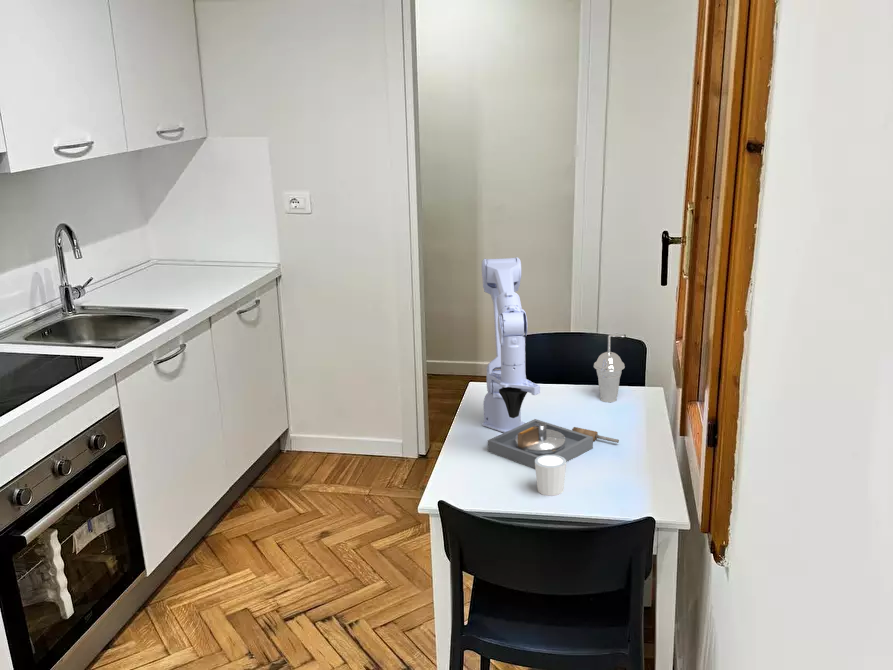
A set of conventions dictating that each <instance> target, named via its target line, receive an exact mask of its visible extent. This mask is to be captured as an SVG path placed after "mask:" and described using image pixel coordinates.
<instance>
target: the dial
mask: <svg viewBox="0 0 893 670" xmlns="http://www.w3.org/2000/svg"><path fill="white" fill-rule="evenodd" d="M515 442H516V447H517V448H518V449H520V450H523V451H526V452H529V453H532V454H537V455H545V454H552V453H556V452H559V451H561V450H562V449H564V447H565V436H564V435H563V434H562V433H560V432H557V431H554V430H550V429H546V424H545V423H542V422H538V423H535V424H534V426H533V427H530V428H528V429H526V430H524V431H522V432H519V433H518V434H517V435H516V438H515Z"/></svg>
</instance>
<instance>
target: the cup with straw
mask: <svg viewBox="0 0 893 670" xmlns="http://www.w3.org/2000/svg"><path fill="white" fill-rule="evenodd" d="M611 337H612V338H626V334H624V333H623V334H619V333H610V334H609V335H607V351H605V352H602V353H601V354H600V355H598V358H597V360H596V361H595V362H594V363H593V368H594V370H596V376H597V378H598V379H597V380H598V391H599V396H600V399H599V400H600V401H602V402H603V403H614V402H617V400H618V395H619V386H620V379H621V376H622V370H624V369H625V367H626V366H625V363H624V362H623V361H622V359H621V356H619V355H618V354H617V353H616V352H614V351H613V352H612V351H611Z"/></svg>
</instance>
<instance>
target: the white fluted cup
mask: <svg viewBox="0 0 893 670" xmlns="http://www.w3.org/2000/svg"><path fill="white" fill-rule="evenodd" d="M566 468H567V462H566V459H565V458H564V457H561V456H558V455H542V456H539V457H537V458H536V459H535V477H536V489H537V492H538V493H539V494H541V495H543V496H547V497H555V496H559V495H561V494H562V493H563V492H564V490H565V481H566V470H567V469H566Z"/></svg>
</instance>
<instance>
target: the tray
mask: <svg viewBox="0 0 893 670" xmlns="http://www.w3.org/2000/svg"><path fill="white" fill-rule="evenodd" d="M538 422H542V423H545V424H546V429H550V430H554V431H557V432H560V433H562V434H563V435H564V436H565V447H564V449H562V450H561V451H559V452H556V453H552V454H545V455H558V456H561V457H564V458H565V459H566V463H567V461H568V462H569V460H570V461H571V459H572V460H573V458H574V459H575V458H578V457H579V456H581V455H583V454H585V453H587V452H589V451H590V450H592V449H594V441H593V437H592V436H589V435H585V434H582V433H579V432H576V431H572V429H569V428H566V427H562V426H559V425H555V424H553V423H550V422H546V421H543V420H539V419H537V418H534V419H531V420H529V421H528V422H525V424H523V425H521V426H518V427H516V428H514V429H512V430H509V431H507V432H505V433H503V432H502V433H500V434H499V435H496V436H494V437H491V438H490V439H488V440H487V452H488V453H489V454H490V453H491V454H493V455H496V456H498V457H499V456H500V458H501V457H502V458H504V459H506V460H510V461H513V462H515V463H517V464H521V465H524V466H526V467H529V468H532V469H535V459H536V458H537V457H539V456H542V455H537V454H532V453H529V452H526V451H523V450H520V449H518V448H517V447H516V442H515V438H516V435H517V434H518V433H519V432H522V431H524V430H526V429H528V428H530V427H533V426H534V424H535V423H538ZM535 470H536V469H535Z"/></svg>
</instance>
